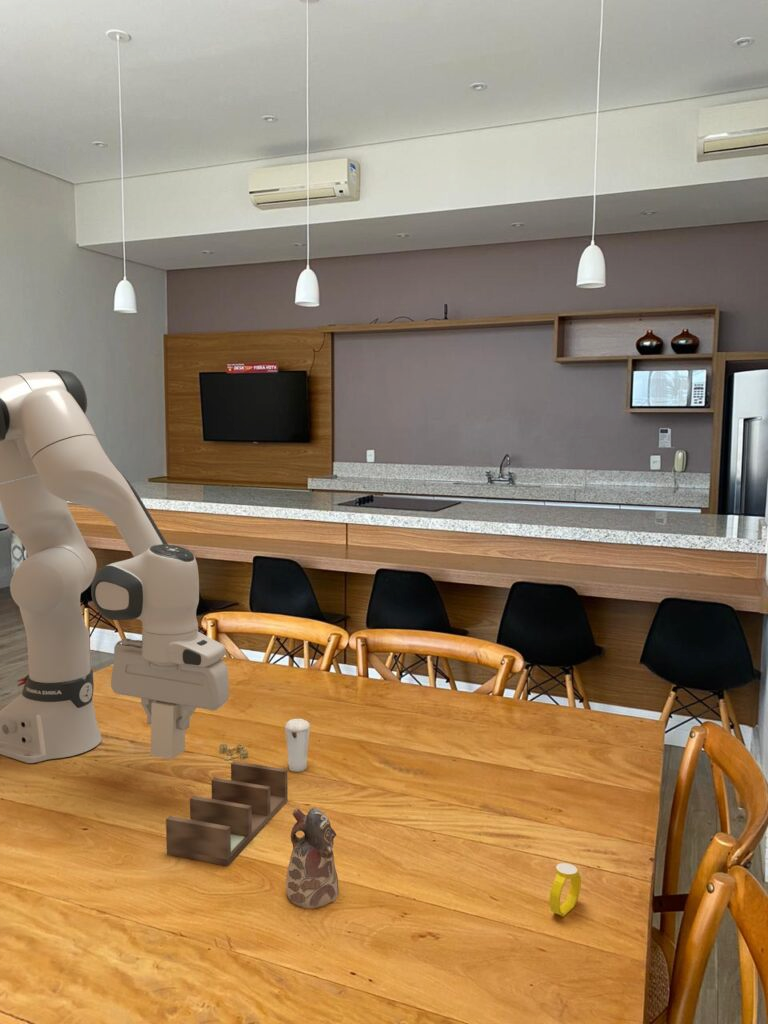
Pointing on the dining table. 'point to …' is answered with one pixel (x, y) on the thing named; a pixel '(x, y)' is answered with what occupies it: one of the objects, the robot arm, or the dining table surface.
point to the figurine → (312, 861)
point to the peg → (166, 730)
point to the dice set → (229, 751)
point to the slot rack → (228, 814)
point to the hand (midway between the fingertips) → (168, 726)
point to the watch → (563, 873)
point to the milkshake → (297, 743)
